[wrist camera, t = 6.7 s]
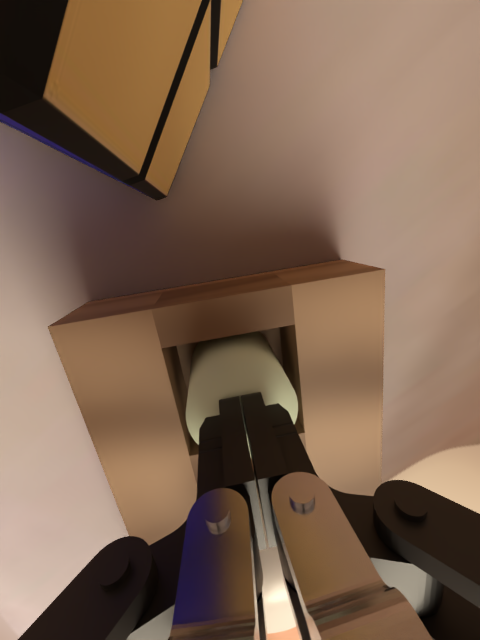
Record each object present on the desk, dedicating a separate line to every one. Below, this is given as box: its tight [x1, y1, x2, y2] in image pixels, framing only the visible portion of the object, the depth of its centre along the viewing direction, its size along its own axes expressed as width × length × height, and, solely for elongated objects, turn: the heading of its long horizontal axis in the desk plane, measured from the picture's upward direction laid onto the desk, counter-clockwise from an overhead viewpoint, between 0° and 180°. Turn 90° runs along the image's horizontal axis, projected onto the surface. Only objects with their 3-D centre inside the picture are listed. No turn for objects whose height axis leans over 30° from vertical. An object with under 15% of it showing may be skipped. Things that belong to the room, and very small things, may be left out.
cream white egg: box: [253, 471, 296, 634], centre depth 12 cm, size 4×4×4 cm
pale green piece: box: [186, 331, 298, 457], centre depth 12 cm, size 4×4×4 cm
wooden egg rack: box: [48, 260, 385, 545], centre depth 15 cm, size 21×12×4 cm, turn 8°
